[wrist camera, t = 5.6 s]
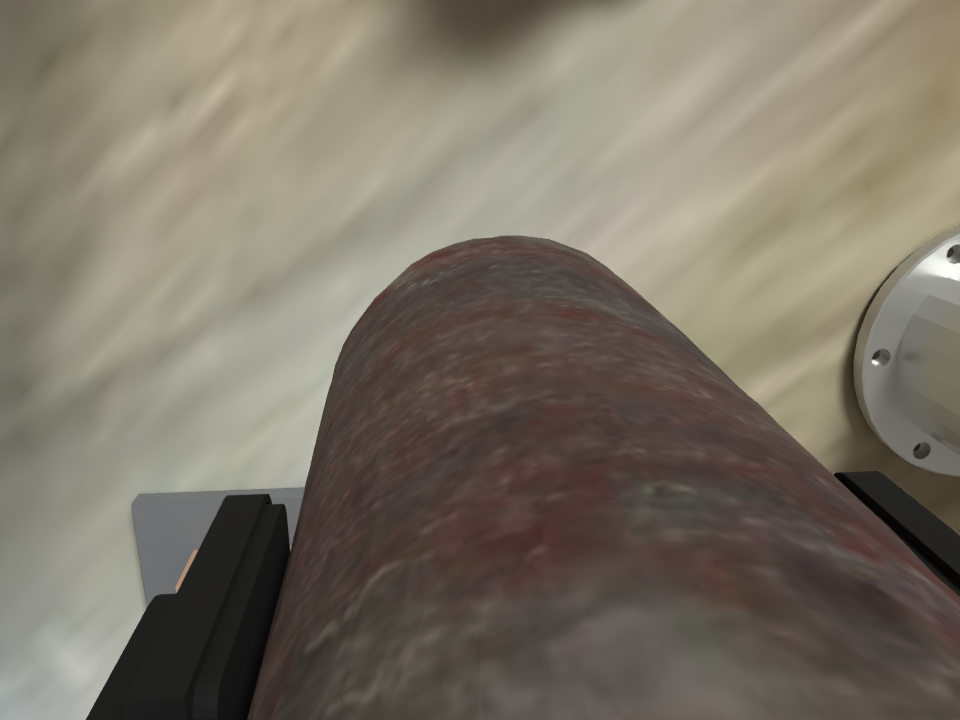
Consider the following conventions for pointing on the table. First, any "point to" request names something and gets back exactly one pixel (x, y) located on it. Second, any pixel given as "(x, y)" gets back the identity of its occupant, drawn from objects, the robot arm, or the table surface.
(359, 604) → the candle
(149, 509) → the tray
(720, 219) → the table surface
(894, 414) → the robot arm
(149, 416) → the table surface
